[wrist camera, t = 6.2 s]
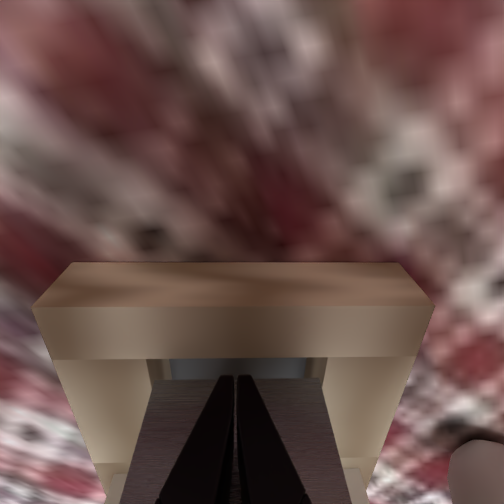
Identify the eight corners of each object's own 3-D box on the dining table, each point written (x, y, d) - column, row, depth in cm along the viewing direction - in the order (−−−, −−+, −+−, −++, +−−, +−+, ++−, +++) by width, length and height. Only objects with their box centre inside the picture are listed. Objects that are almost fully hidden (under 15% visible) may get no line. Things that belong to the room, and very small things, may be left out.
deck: (157, 551, 27) (148, 602, 25) (72, 262, 13) (30, 307, 11) (318, 546, 28) (326, 595, 25) (398, 262, 14) (435, 305, 11)
